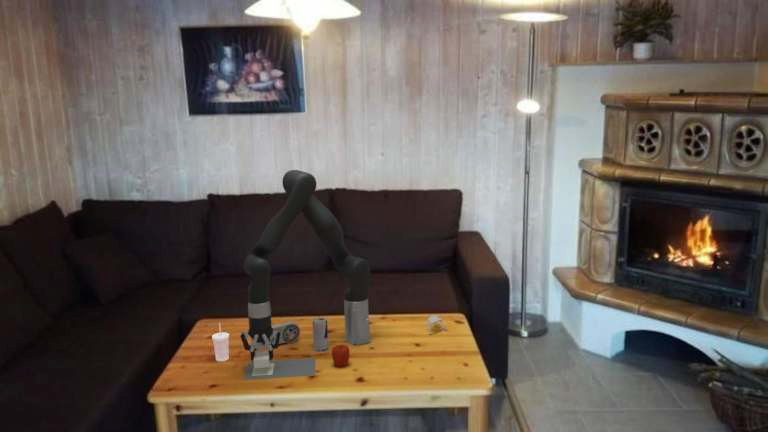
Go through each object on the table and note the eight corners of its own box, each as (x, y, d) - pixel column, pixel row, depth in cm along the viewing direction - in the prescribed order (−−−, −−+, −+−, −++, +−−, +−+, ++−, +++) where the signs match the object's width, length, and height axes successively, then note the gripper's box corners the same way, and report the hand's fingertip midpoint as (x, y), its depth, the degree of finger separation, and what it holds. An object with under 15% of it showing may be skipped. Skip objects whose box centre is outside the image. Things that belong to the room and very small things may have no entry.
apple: (343, 371, 212) (342, 351, 210) (328, 367, 215) (327, 347, 213) (353, 364, 217) (352, 344, 215) (339, 361, 220) (338, 341, 219)
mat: (315, 359, 222) (315, 357, 222) (315, 376, 208) (315, 374, 208) (248, 363, 220) (248, 362, 219) (243, 381, 206) (243, 379, 206)
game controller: (253, 353, 229) (252, 332, 227) (251, 351, 231) (250, 330, 229) (301, 341, 239) (300, 320, 238) (298, 339, 241) (297, 319, 240)
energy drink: (330, 348, 231) (329, 318, 229) (324, 353, 226) (323, 323, 224) (317, 346, 233) (316, 316, 231) (311, 352, 228) (310, 321, 226)
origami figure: (448, 334, 242) (447, 322, 241) (426, 335, 242) (426, 323, 241) (443, 323, 254) (443, 312, 253) (423, 324, 253) (422, 313, 252)
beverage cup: (215, 363, 220) (212, 326, 218) (212, 357, 226) (209, 321, 223) (232, 359, 223) (230, 323, 221) (228, 353, 229) (226, 318, 226)
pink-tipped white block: (268, 367, 209) (268, 358, 208) (254, 368, 208) (253, 359, 208) (270, 357, 217) (270, 349, 216) (256, 358, 216) (255, 350, 216)
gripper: (236, 318, 205) (240, 366, 208) (280, 316, 206) (282, 363, 209) (239, 310, 212) (242, 357, 215) (281, 308, 214) (284, 354, 217)
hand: (262, 360), depth 212 cm, fingers closed on pink-tipped white block, 5 cm apart
